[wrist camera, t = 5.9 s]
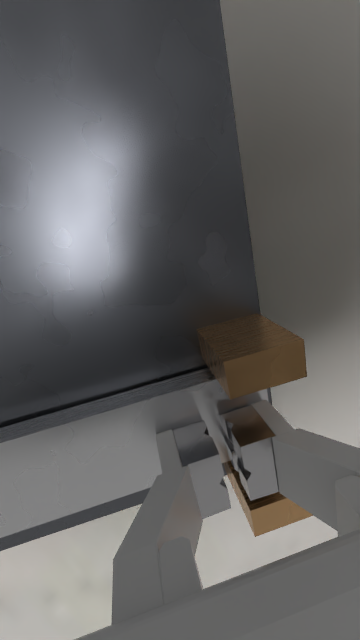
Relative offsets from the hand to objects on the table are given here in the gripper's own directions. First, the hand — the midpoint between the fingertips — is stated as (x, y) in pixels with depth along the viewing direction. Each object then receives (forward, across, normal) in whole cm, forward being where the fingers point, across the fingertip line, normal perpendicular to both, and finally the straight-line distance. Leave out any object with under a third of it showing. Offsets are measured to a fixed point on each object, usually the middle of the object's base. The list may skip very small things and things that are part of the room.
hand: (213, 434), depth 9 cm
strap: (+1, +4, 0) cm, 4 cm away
